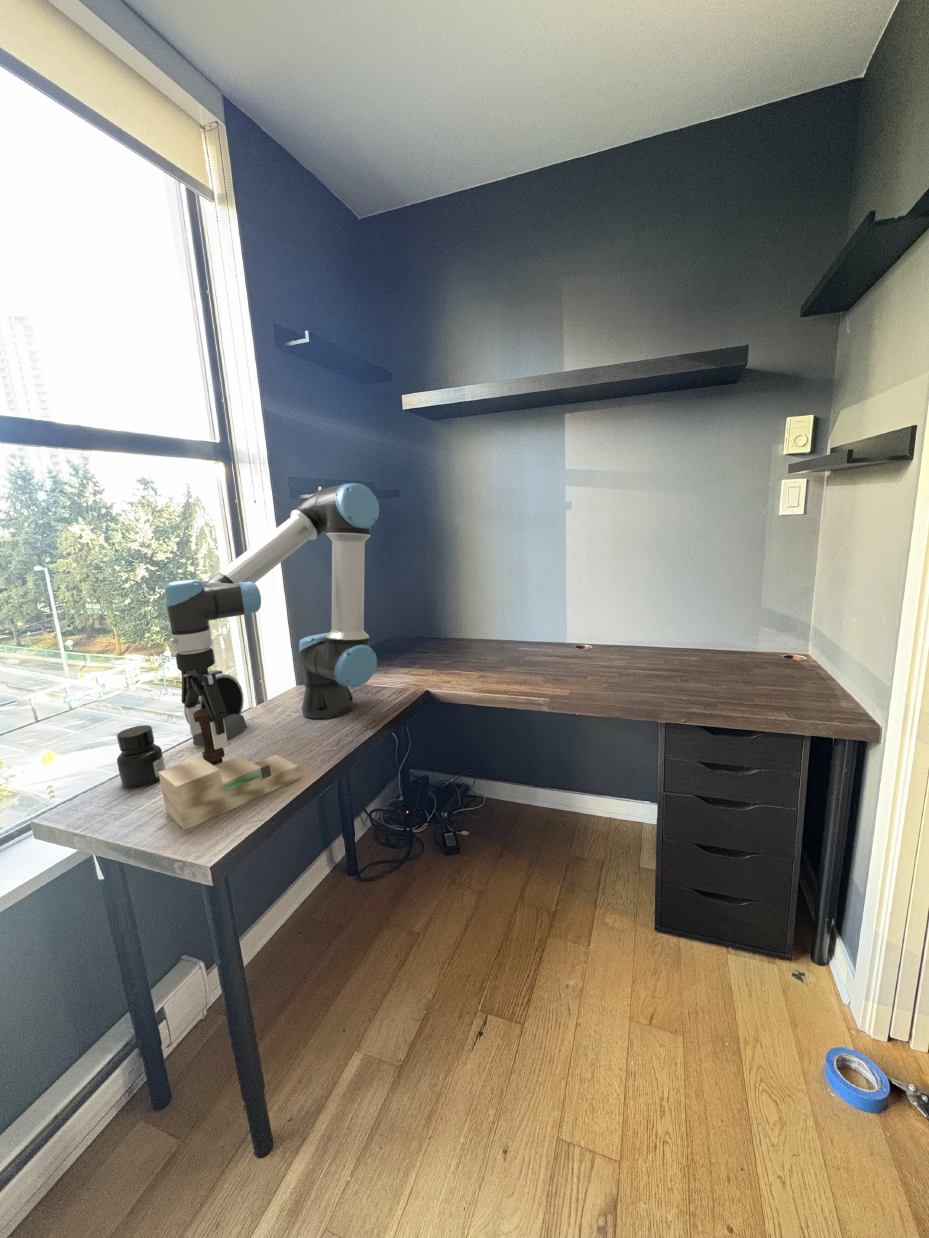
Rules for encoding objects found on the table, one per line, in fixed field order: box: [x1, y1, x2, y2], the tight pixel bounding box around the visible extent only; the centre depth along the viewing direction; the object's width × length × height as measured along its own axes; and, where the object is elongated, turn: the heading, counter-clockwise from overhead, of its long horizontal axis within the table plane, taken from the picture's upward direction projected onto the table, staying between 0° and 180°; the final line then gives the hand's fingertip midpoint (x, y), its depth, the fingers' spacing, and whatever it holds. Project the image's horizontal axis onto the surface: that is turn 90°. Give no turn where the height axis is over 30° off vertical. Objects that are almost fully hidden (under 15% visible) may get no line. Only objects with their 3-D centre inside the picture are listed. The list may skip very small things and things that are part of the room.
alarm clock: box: [183, 670, 248, 746], centre depth 144 cm, size 16×10×18 cm, turn 161°
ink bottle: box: [116, 724, 166, 789], centre depth 121 cm, size 10×9×12 cm
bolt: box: [193, 708, 226, 766], centre depth 122 cm, size 6×5×15 cm
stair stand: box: [158, 754, 301, 831], centre depth 111 cm, size 24×11×9 cm, turn 137°
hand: (209, 740), depth 121 cm, fingers open, 13 cm apart
